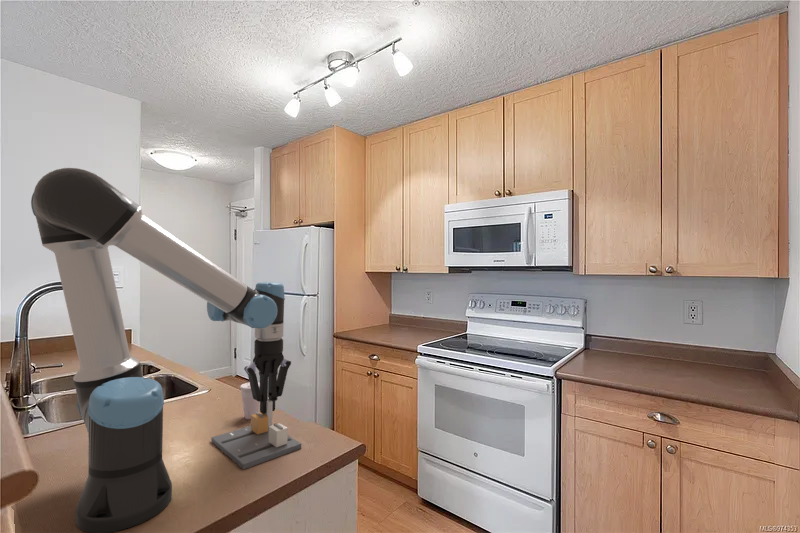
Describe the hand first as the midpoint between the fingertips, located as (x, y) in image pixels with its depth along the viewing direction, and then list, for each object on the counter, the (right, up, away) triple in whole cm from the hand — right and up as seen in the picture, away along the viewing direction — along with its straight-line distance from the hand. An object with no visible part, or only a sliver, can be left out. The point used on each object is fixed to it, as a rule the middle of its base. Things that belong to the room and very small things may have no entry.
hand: (267, 423), depth 109 cm
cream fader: (+6, -1, -9) cm, 10 cm away
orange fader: (-2, -1, -2) cm, 3 cm away
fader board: (-1, -3, -7) cm, 7 cm away
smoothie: (-9, -3, +11) cm, 14 cm away
